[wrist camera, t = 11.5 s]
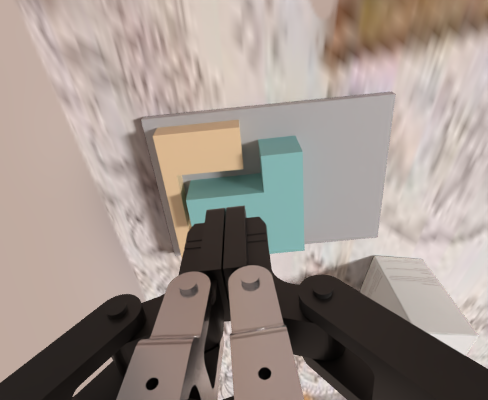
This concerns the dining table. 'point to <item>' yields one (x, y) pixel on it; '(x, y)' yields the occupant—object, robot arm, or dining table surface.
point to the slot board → (314, 158)
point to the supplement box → (418, 299)
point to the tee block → (261, 194)
